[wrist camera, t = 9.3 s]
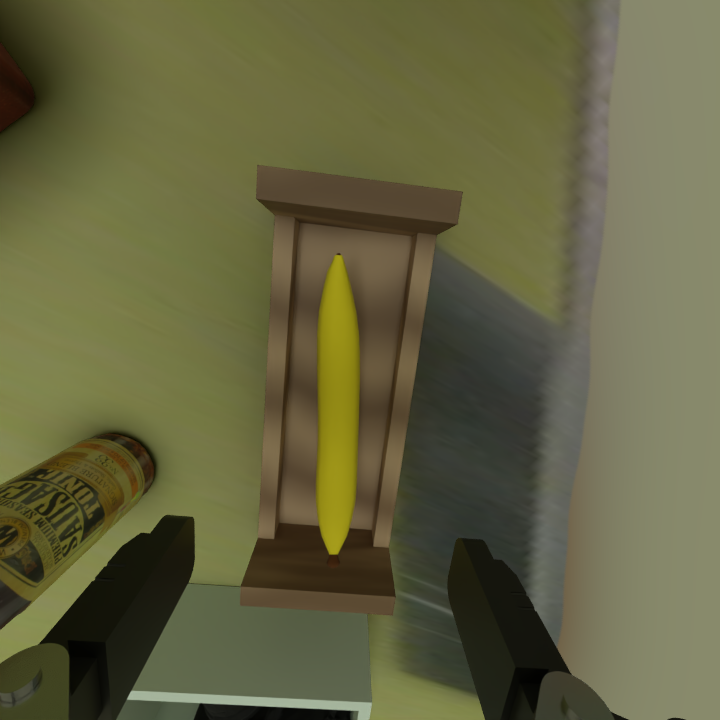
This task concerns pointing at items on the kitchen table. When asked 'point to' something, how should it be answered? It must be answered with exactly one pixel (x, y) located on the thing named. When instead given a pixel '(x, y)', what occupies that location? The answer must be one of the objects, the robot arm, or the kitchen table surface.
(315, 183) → the cradle
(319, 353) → the banana
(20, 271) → the kitchen table surface
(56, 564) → the sauce bottle
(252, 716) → the film camera
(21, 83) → the plant pot
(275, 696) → the camera caddy
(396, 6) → the kitchen table surface
